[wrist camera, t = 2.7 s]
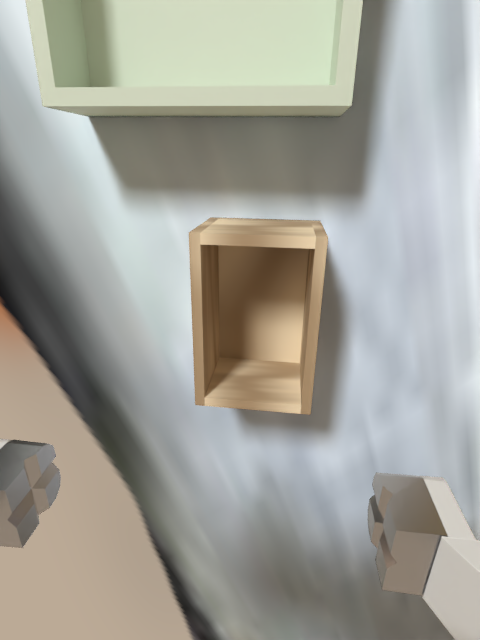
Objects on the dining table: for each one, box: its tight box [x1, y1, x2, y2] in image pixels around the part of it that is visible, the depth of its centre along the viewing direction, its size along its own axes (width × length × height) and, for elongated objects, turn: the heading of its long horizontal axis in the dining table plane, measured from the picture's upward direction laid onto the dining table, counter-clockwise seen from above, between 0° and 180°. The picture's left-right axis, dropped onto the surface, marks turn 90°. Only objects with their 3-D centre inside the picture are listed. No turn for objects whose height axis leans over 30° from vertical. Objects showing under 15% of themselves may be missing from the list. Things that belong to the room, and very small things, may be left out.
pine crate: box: [189, 218, 328, 415], centre depth 20 cm, size 6×9×5 cm, turn 179°
